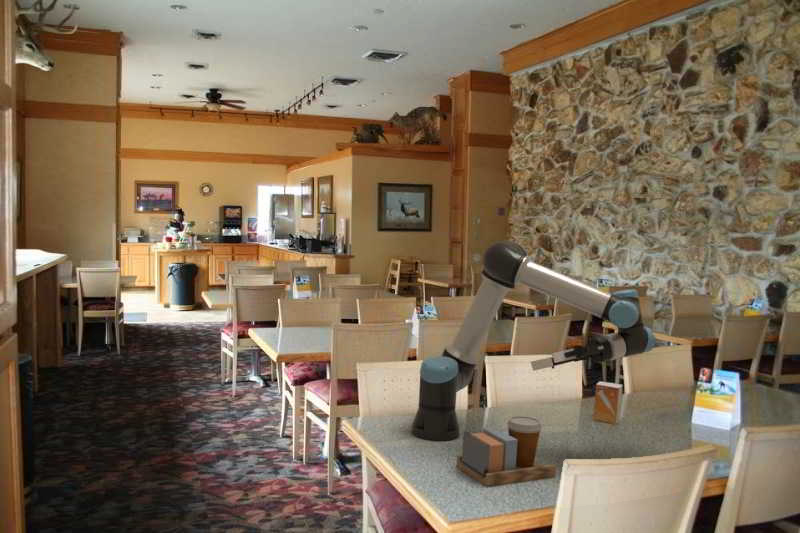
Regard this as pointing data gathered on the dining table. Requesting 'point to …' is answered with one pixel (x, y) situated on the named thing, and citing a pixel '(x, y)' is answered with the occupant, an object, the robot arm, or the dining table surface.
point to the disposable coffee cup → (525, 438)
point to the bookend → (475, 454)
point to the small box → (607, 402)
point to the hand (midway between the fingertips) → (542, 362)
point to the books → (499, 449)
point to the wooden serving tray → (512, 474)
